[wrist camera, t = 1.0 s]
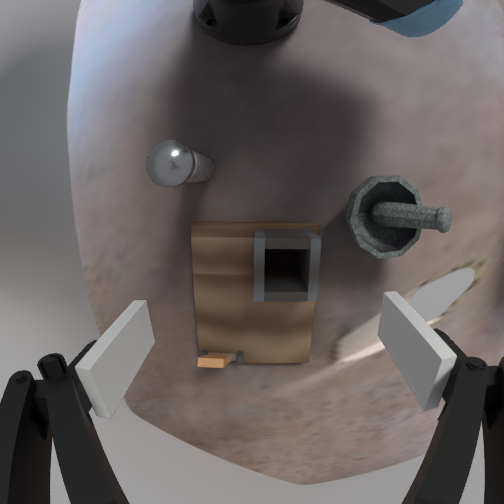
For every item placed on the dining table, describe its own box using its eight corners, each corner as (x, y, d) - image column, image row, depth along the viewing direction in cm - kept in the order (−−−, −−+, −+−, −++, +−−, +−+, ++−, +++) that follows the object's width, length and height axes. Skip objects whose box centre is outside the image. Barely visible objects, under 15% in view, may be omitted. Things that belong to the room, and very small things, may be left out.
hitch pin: (185, 154, 36) (146, 141, 23) (216, 152, 36) (191, 138, 23) (185, 184, 37) (146, 187, 24) (216, 183, 37) (191, 186, 24)
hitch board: (194, 222, 38) (177, 233, 31) (316, 223, 38) (330, 234, 30) (202, 353, 43) (191, 385, 35) (306, 355, 43) (314, 387, 35)
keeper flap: (192, 356, 30) (192, 366, 30) (229, 358, 30) (229, 368, 30) (208, 351, 41) (208, 359, 40) (236, 353, 41) (236, 360, 40)
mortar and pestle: (337, 248, 39) (366, 276, 27) (331, 178, 37) (362, 178, 25) (409, 240, 38) (456, 262, 26) (406, 174, 36) (456, 175, 24)
